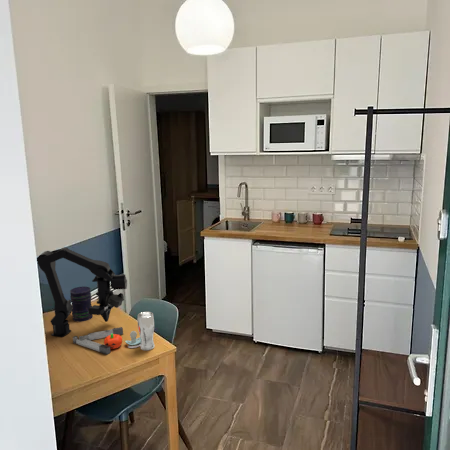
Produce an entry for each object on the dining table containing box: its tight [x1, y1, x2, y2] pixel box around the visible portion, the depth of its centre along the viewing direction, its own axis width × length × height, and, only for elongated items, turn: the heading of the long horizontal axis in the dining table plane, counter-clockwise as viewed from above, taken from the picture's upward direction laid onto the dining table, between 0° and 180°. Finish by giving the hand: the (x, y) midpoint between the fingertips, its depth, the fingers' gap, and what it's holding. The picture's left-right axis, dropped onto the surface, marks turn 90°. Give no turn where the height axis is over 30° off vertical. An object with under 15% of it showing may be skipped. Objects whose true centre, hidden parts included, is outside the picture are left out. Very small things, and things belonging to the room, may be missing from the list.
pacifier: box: [124, 330, 141, 349], centre depth 180 cm, size 7×6×6 cm
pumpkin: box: [103, 334, 123, 350], centre depth 179 cm, size 7×8×6 cm
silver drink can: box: [137, 311, 155, 351], centre depth 177 cm, size 7×7×15 cm
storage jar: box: [69, 286, 94, 323], centre depth 208 cm, size 10×10×15 cm
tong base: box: [72, 335, 111, 356], centre depth 178 cm, size 22×2×3 cm, turn 59°
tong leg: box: [78, 326, 124, 341], centre depth 188 cm, size 19×2×3 cm, turn 113°
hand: (106, 321), depth 193 cm, fingers closed
